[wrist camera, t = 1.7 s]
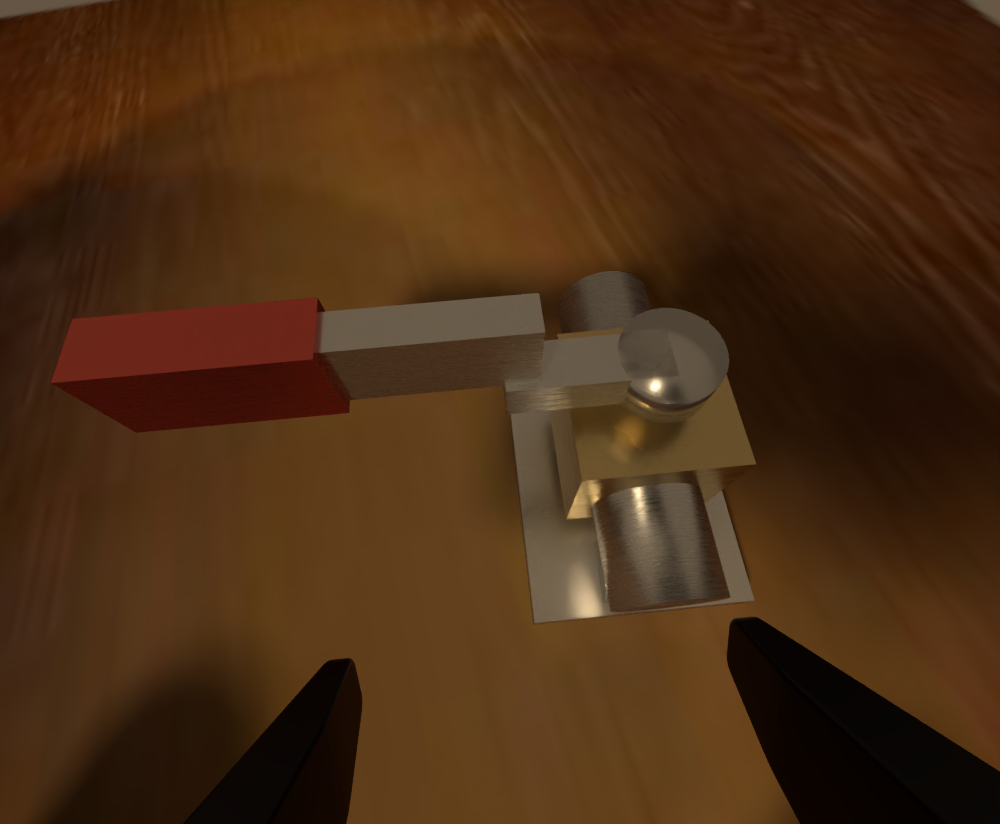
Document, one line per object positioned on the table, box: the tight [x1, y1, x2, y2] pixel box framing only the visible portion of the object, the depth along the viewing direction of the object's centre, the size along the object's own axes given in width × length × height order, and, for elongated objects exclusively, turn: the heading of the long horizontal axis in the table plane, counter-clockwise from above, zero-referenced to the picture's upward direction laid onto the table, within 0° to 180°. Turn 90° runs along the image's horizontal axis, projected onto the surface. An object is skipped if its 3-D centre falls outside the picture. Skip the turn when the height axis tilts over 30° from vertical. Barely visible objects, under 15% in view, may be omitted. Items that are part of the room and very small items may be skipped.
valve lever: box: [51, 293, 729, 433], centre depth 14 cm, size 3×17×4 cm, turn 96°
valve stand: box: [510, 271, 756, 624], centre depth 20 cm, size 13×9×9 cm
